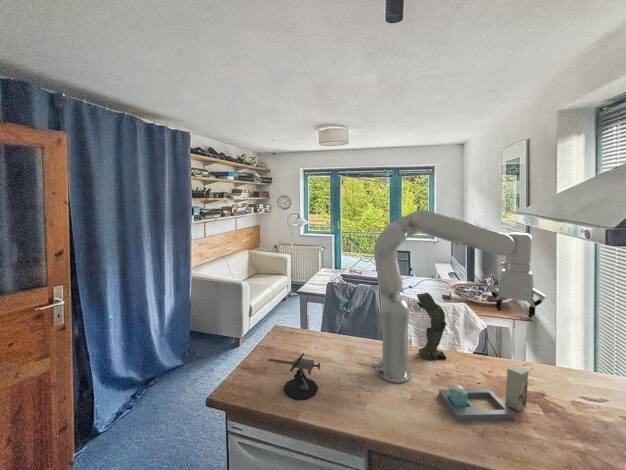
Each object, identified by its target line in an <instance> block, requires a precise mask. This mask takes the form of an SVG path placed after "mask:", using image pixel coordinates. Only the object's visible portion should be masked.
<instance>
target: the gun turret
mask: <svg viewBox="0 0 626 470" xmlns="http://www.w3.org/2000/svg"><path fill="white" fill-rule="evenodd" d="M304 355H305V353H304V352H302V354H301V355H300V356H299V357H297V358H296V359H294V360H293V361H288V360H282V359H274V358H268V362H271V363H278V364H285V365H290V366H291V368H290V370H289V372H293V371H294V369H298V370H296V373H295V374H294V375H293V377H294V378H293V379H290V380H288V381H286V383H285V385H284V386H283V389H282V390H283V392H284V394H286V395H285V397H287V396H288V397H287V398H289V397H290V398H289V399H291V398H292V399H291V400H293V399H294V401H307V400H309V399H311V398H312V397H315V396H316V394H317V392H318V390H319V386H318V385H317V383H316V381H315V380H313V379H310V378H308V377H307V376H306V375H305V372H304V370H307V374H308V375H311V374H312V370H313V369H314V367H316V368H317V370H318V371H320V370H321V369H320V368H321V366H320V365H321V364H320V362H318V363H317V364H315V361H314V359H307V358H306V359H305V358H303V356H304Z"/></svg>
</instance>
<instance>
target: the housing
mask: <svg viewBox="0 0 626 470" xmlns="http://www.w3.org/2000/svg"><path fill="white" fill-rule="evenodd" d="M464 390H465V391H466V392H467V394H468V398H467V407H454V406H453V405H452V404H451V402H450V401H449V393H450V388H449V389H439V390H438V396H439V398H441V400H442V401H443V403H444V404H445V406H446V407H447V409H448V411H449V412H450V413H451V414H452V416H453V417H454V419H455V421H456V422H473V421H474V422H475V421H480V422H481V421H515V412H513V411H512V410H511V409H510V407H509V406H507V405H505V403H504V402H503V401H502V400H501V399H500V398H499V397H498V396H497V395H496V394H495V393H494V392H493V390H491V389H490V388H464ZM480 398H481V399H483V398H484V399H486V398H487V399H489V400H490V401H491V402H492V403H493V404H494V405H495V406H496V407H497V408H498V409H477V408H476V407H475V405H474V404H473V403H472V401H471V400H469V399H480Z"/></svg>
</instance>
